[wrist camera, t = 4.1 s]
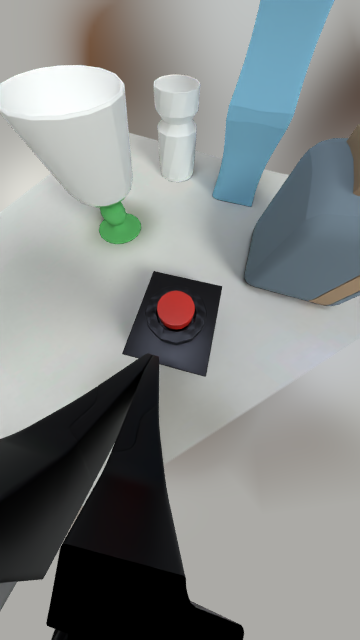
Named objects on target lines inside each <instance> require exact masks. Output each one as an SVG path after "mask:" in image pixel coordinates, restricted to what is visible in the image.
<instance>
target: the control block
mask: <svg viewBox="0 0 360 640" xmlns="http://www.w3.org/2000/svg"><path fill="white" fill-rule="evenodd" d="M221 290H222V286H218V285H213V284H209V283H205V282H200V281H196V280H191V279H187V278H182V277H178V276H173V275H169V274H164V273H160V272H155V271H154V272H153V274H152V277H151V280H150V282H149V285H148V287H147V290H146V293H145V295H144V298H143V301H142V303H141V306H140V308H139V311H138V314H137V316H136V319H135V322H134V324H133V327H132V329H131V332H130V335H129V337H128V340H127V343H126V345H125V348H124V350H123V353H122V354H124V355H128V356H132V357H135V358H141V357H142V356H144V355H145V354H147V353H148V354H152V355H156V356H159V364H161V365H165V366H168V367H172V368H175V369H179V370H183V371H186V372H190V373H194V374H197V375H201V376H206V373H207V367H208V362H209V356H210V351H211V345H212V340H213V334H214V329H215V323H216V318H217V312H218V307H219V301H220V296H221ZM171 291H181V292H184V293H186V294H187V295H189V296H190V297H191V298H192V300H193V302H194V305H195V311H194V315H193V318H192V320H191V322H190V323H189V325H187V326H186V327H184V328H182V329H177V330H175V329H170V328H168V327H166V326H165V325H164V324H163V323H162V322H161V320H160V318H159V315H158V312H157V305H158V302H159V300H160V298H161V297H162V296H163V295H164V294H166V293H168V292H171Z"/></svg>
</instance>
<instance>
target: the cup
mask: <svg viewBox="0 0 360 640" xmlns="http://www.w3.org/2000/svg"><path fill="white" fill-rule="evenodd" d="M0 114H1V115H2V116H3V117H4V119H5V120H6V121H7V122H8V123H9V124H10V126H11V127H12V128H13V129H14V130H15V132H16V133H17V134H18V135H19V136H20V137H21V138H22V140H23V141H24V142H25V143H26V144H27V145H28V147H29V148H30V149H31V150H32V151H33V152H34V154H35V155H36V156H37V157H38V158H39V159H40V161H41V162H42V163H43V164H44V165H45V166H46V167H47V169H48V170H49V171H50V172H51V173H52V175H53V176H54V177H55V178H56V179H57V180H58V182H59V183H60V184H61V185H62V186H63V187H64V189H65V190H66V191H67V192H68V193H69V194H70V195H72V196H73V197H74V198H76V199H77V200H79V201H80V202H81V203H83V204H86V205H90V206H94V207H100V211H101V214H102V216H103V218H104V220H103V222H102V223H101V224H100V228H99V232H100V235H101V237H102V238H103V239H104V240H106V241H107V242H110V243H114V244H122V243H126V242H129V241H131V240H133V239H134V238H135V237H137V236H138V234H139V232H140V230H141V223H140V222H139V220H138V218H136V217H135V216H133V215H132V214H128V213H126V212H125V208H124V207H123V205H122V203H121V202H120V201H122V200H123V199H124V198H125V197H126V196H127V194H128V193H129V192H130V190H131V186H132V178H133V173H132V163H131V152H130V141H129V132H128V131H129V130H128V120H127V109H126V98H125V88H124V83H123V82H122V81H121V80H120V79H119V77H117V75H116V74H115V73H112V72H110V71H107V70H104V69H102V68H97V67H89V66H83V65H65V66H64V65H59V66H52V67H46V68H38V69H34V70H31V71H27V72H24V73H21V74H17V75H15V76H13V77H11V78H9V79H8V80H6V81H4V82H2V83H0Z"/></svg>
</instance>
